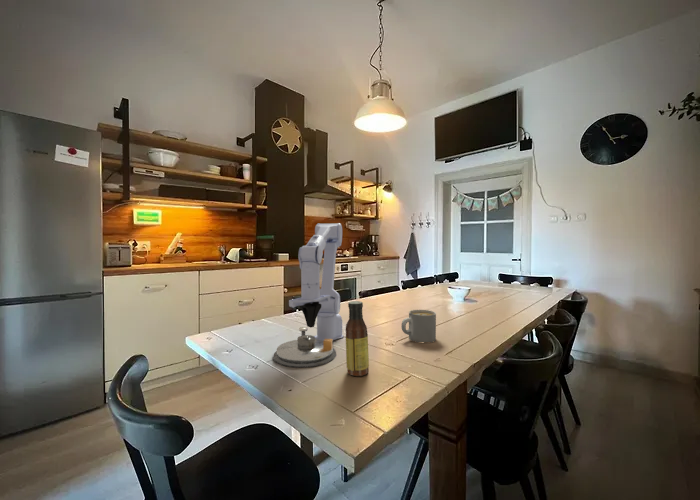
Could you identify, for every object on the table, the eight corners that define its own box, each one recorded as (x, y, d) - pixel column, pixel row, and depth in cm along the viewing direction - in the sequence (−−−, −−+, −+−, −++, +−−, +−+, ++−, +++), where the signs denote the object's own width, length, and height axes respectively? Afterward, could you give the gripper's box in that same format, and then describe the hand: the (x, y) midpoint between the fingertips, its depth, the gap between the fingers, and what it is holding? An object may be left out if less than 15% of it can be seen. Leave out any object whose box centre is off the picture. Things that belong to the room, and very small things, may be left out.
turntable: (287, 342, 110) (287, 330, 109) (337, 344, 107) (337, 332, 107) (267, 361, 92) (267, 347, 92) (327, 364, 90) (327, 350, 89)
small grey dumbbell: (304, 340, 114) (304, 326, 114) (309, 342, 112) (309, 328, 112) (297, 342, 112) (297, 328, 112) (302, 344, 109) (302, 330, 109)
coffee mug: (429, 334, 122) (430, 309, 122) (439, 342, 112) (440, 315, 112) (397, 335, 121) (397, 310, 121) (404, 343, 111) (404, 316, 111)
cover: (300, 344, 103) (300, 333, 103) (316, 345, 102) (316, 334, 102) (295, 350, 97) (295, 338, 97) (312, 351, 96) (312, 339, 96)
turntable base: (312, 341, 114) (312, 339, 114) (348, 355, 99) (348, 353, 99) (262, 354, 100) (262, 352, 100) (296, 373, 86) (296, 371, 85)
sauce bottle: (371, 369, 88) (371, 300, 88) (365, 379, 82) (365, 305, 82) (349, 366, 90) (349, 299, 90) (342, 375, 84) (342, 303, 84)
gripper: (298, 287, 89) (298, 333, 89) (336, 282, 99) (336, 324, 99) (285, 284, 94) (285, 328, 94) (322, 280, 104) (322, 320, 104)
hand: (310, 326), depth 97 cm, fingers closed
